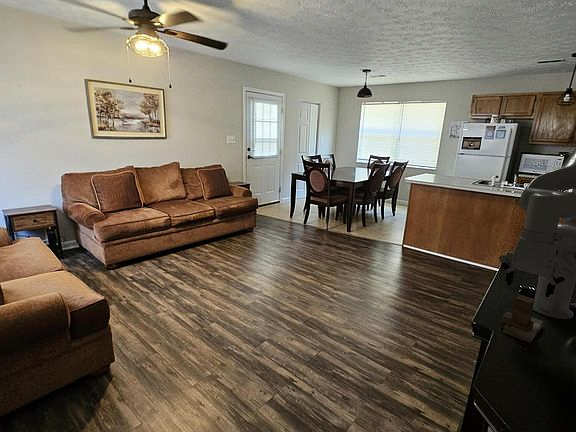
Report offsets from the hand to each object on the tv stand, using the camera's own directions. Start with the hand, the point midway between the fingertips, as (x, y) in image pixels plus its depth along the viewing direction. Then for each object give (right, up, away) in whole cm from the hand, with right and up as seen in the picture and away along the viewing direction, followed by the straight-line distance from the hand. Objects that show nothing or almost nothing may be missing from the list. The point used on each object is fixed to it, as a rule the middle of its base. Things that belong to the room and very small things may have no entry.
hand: (527, 289), depth 96 cm
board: (+2, -14, +4) cm, 14 cm away
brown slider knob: (-1, -14, +3) cm, 14 cm away
